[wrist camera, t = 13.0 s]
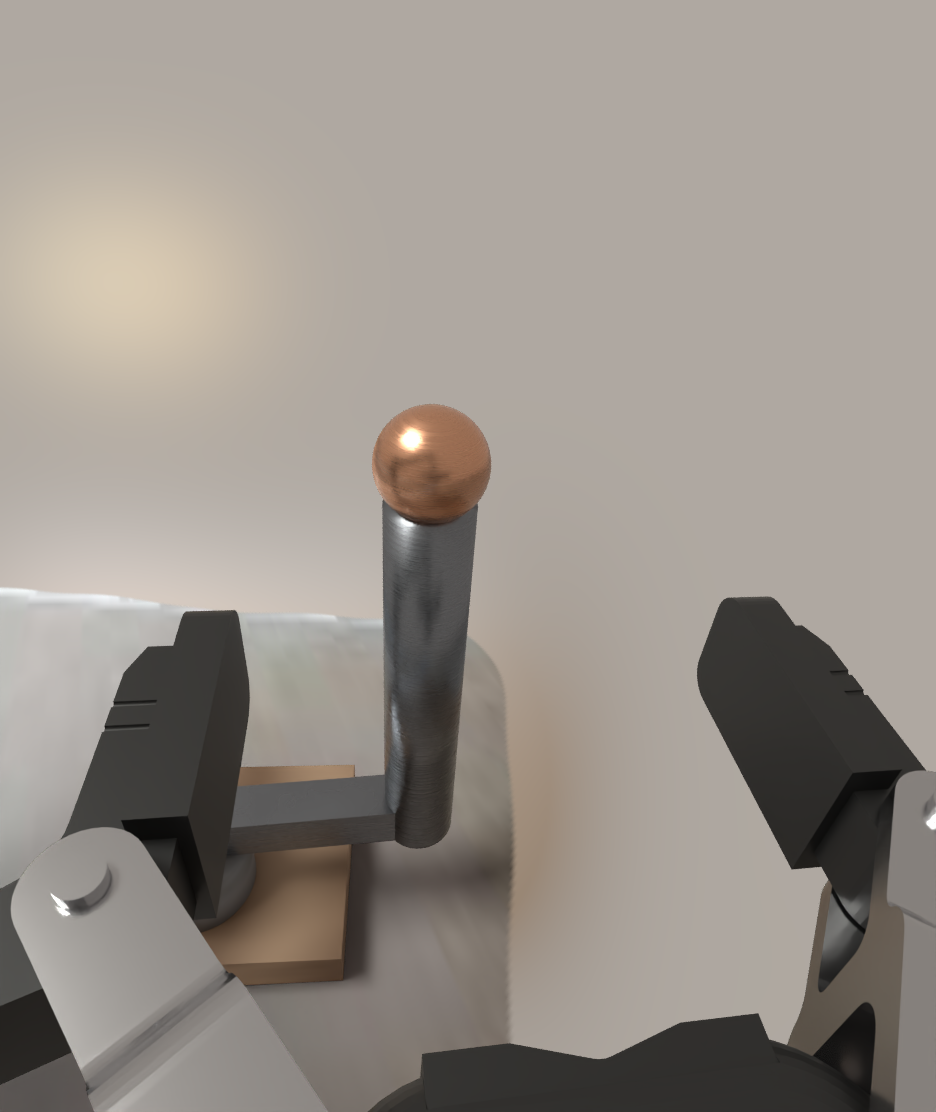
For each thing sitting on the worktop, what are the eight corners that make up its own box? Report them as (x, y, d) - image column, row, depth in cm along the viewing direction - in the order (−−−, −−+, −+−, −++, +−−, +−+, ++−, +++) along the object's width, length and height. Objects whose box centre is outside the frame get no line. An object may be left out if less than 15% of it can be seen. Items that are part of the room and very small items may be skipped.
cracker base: (58, 994, 30) (22, 937, 27) (131, 792, 38) (110, 731, 35) (343, 980, 31) (338, 923, 28) (355, 787, 39) (352, 728, 36)
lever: (127, 887, 28) (-57, 444, 17) (149, 802, 32) (7, 379, 20) (463, 854, 31) (508, 440, 19) (451, 778, 34) (484, 383, 22)
